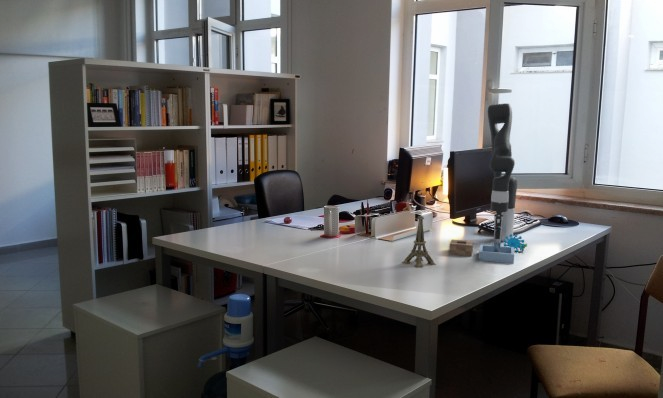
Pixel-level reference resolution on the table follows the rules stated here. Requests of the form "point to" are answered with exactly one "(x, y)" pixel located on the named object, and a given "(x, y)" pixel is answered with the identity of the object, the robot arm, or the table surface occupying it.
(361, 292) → the table surface
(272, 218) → the table surface
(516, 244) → the gear
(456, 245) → the pin block
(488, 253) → the tray
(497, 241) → the peg
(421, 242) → the eiffel tower
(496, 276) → the table surface
